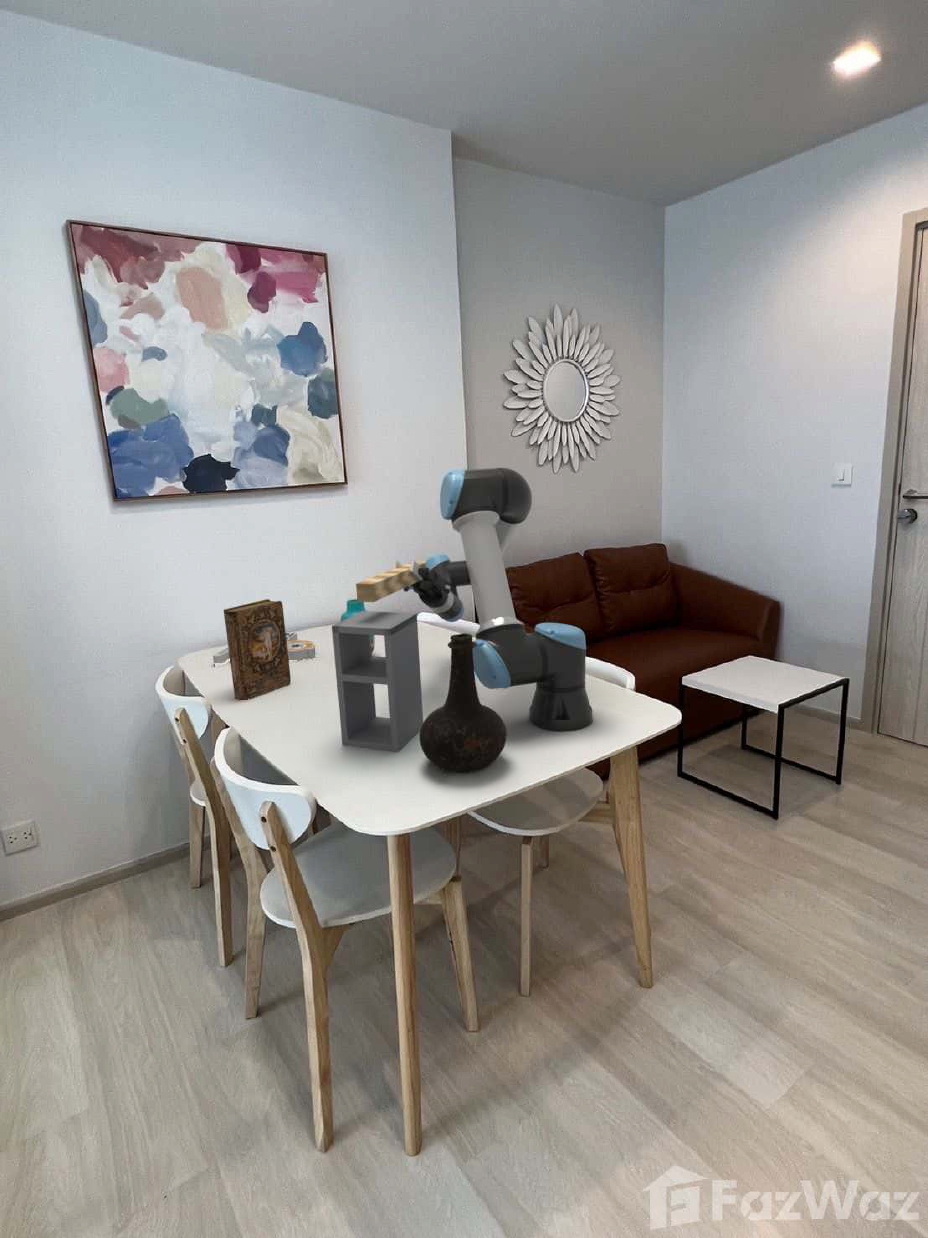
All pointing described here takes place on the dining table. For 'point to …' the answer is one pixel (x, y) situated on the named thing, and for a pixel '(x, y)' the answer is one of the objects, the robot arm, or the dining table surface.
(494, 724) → the glass bottle
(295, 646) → the sign
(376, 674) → the shelf
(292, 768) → the dining table surface
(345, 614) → the vase
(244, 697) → the book
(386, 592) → the wooden bar
